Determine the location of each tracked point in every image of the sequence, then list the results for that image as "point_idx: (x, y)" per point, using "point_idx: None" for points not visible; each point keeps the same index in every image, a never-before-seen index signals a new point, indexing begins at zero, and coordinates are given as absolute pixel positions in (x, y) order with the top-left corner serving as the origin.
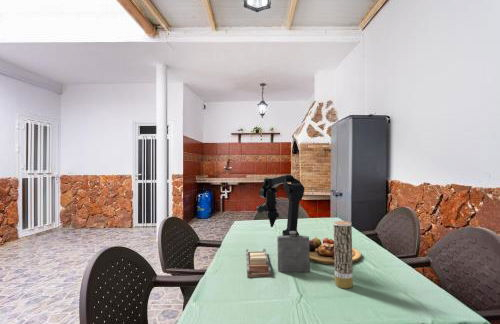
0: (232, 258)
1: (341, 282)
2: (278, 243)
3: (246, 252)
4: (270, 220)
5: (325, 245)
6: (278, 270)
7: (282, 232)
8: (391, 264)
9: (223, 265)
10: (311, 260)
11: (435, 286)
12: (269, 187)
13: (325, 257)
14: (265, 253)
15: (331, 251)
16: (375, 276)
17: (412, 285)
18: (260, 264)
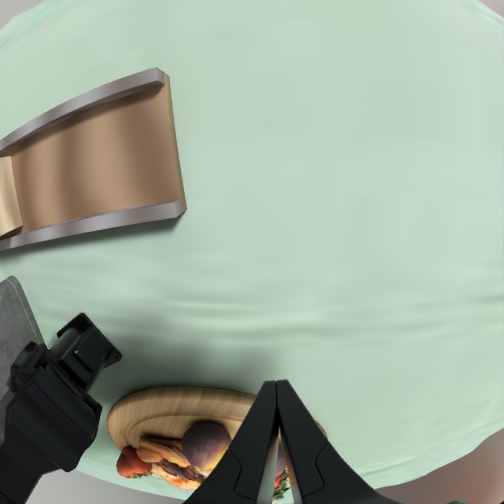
0: (102, 27)
1: None
2: None
3: (89, 92)
4: (216, 477)
5: (200, 473)
6: (7, 278)
7: (11, 408)
8: (168, 491)
9: (32, 37)
10: (117, 402)
11: (96, 477)
12: None
13: (137, 438)
14: (82, 226)
15: (155, 464)
16: (92, 454)
17: (84, 465)
18: None
